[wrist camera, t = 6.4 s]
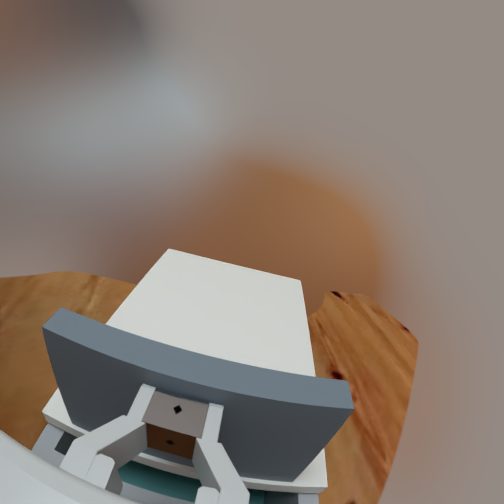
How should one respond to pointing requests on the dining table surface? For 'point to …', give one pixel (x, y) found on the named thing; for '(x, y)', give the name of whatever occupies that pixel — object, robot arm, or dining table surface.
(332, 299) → the dining table surface
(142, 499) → the box
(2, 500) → the robot arm
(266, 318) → the lid
